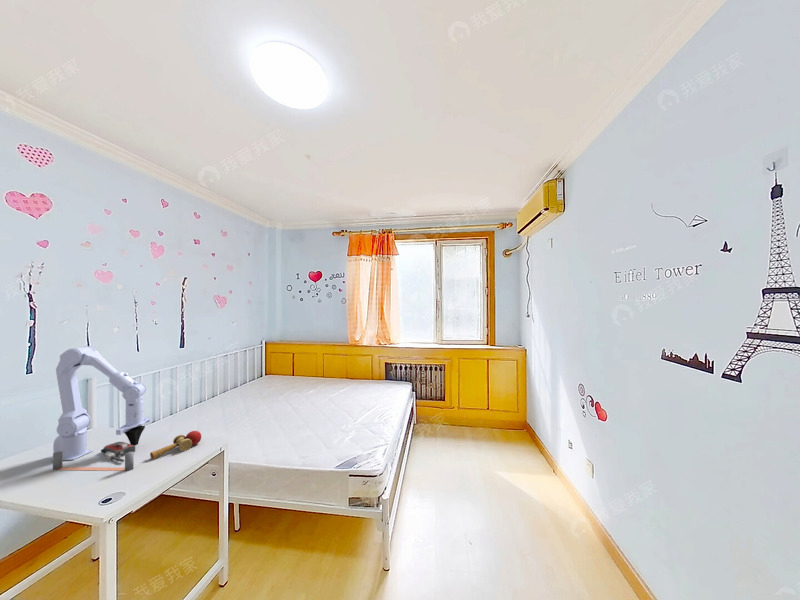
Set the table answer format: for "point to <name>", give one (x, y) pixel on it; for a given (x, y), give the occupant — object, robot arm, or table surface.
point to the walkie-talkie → (117, 450)
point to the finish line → (58, 466)
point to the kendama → (179, 443)
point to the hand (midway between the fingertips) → (134, 444)
